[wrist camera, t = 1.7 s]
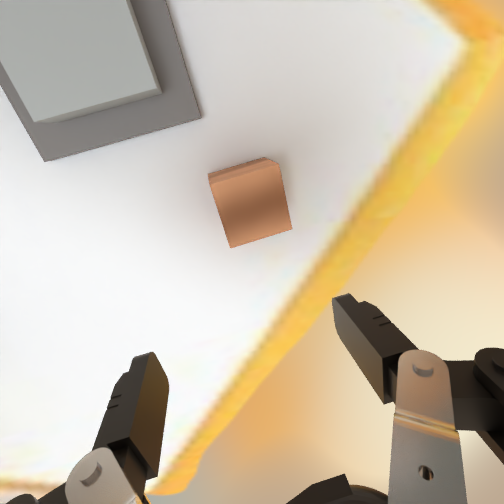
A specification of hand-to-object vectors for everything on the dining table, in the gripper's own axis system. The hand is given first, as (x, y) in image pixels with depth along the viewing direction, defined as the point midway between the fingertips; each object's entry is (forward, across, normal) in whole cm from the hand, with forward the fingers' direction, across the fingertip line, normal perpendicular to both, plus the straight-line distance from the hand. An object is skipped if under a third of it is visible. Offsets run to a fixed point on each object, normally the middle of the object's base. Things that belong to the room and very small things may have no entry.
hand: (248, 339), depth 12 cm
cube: (+20, -3, -2) cm, 20 cm away
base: (+19, +6, -16) cm, 26 cm away
